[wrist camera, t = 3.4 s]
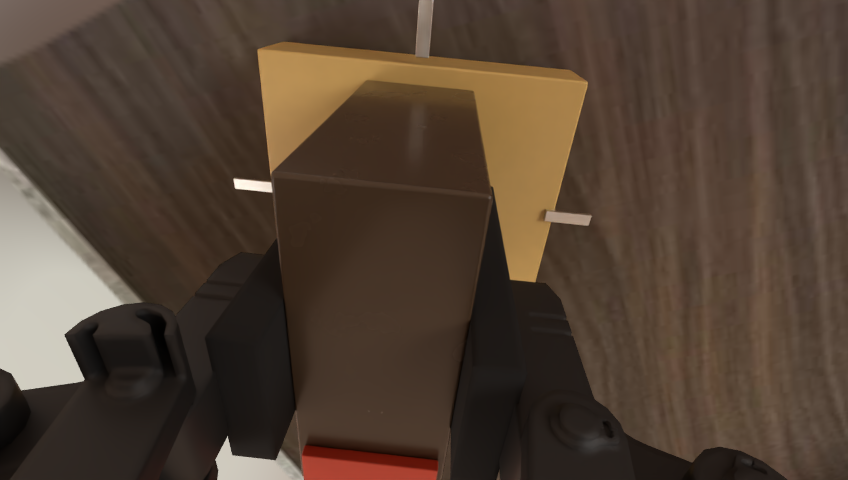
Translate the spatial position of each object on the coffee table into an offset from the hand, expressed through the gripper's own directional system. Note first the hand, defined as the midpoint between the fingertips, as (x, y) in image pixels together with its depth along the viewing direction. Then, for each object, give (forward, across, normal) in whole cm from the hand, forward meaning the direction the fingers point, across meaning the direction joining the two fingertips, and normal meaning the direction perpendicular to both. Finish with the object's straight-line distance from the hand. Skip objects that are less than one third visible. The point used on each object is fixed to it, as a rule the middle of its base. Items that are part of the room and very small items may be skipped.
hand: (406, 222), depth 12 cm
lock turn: (+1, 0, 0) cm, 1 cm away
